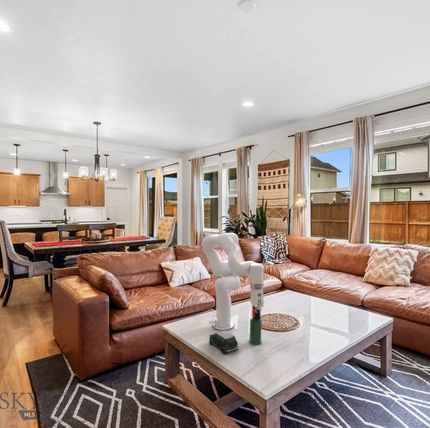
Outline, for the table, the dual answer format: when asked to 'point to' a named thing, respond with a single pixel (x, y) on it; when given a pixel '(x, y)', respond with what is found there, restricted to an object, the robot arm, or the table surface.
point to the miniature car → (224, 341)
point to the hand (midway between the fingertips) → (256, 317)
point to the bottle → (255, 331)
